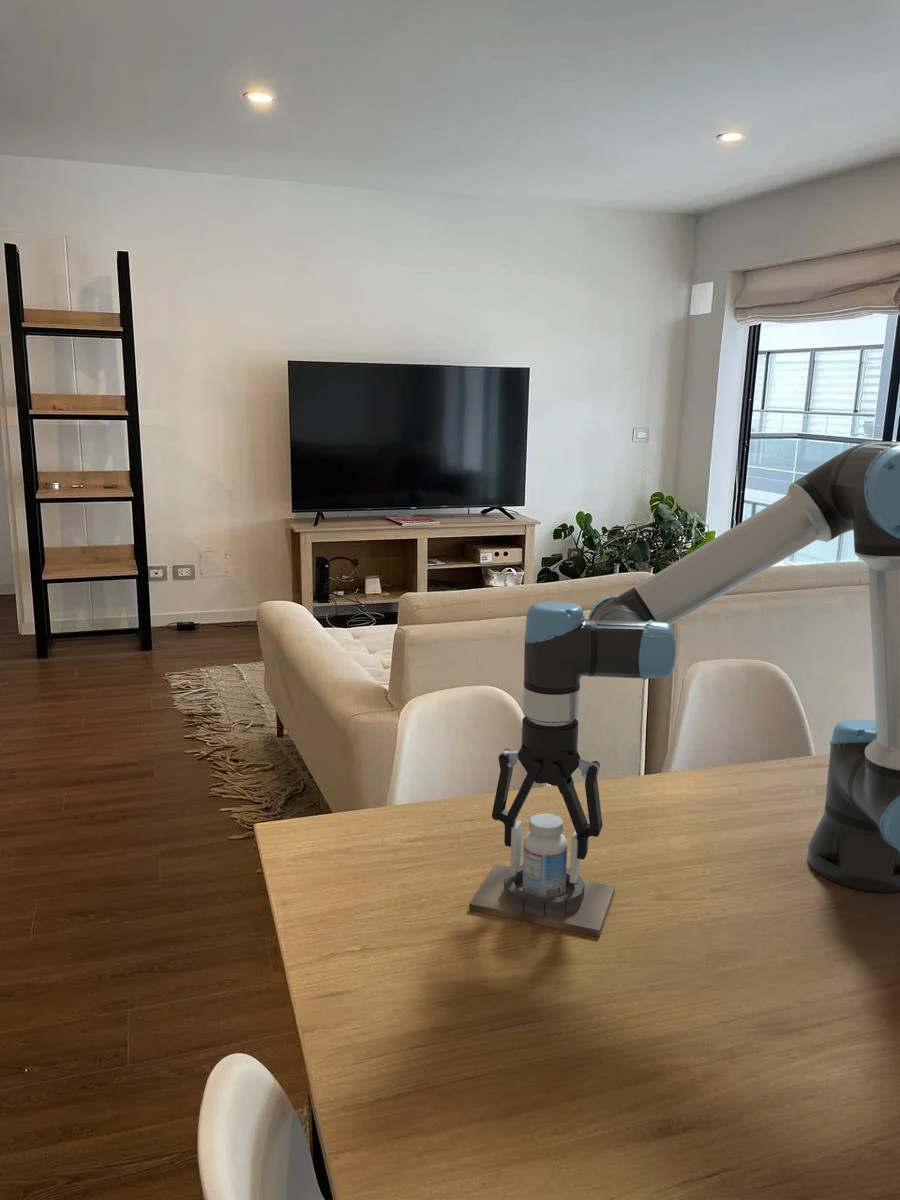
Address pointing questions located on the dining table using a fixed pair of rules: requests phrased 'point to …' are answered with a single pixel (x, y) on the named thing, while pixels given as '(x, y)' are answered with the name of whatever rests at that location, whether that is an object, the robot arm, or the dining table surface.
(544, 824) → the pill bottle
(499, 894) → the holder
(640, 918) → the dining table surface
